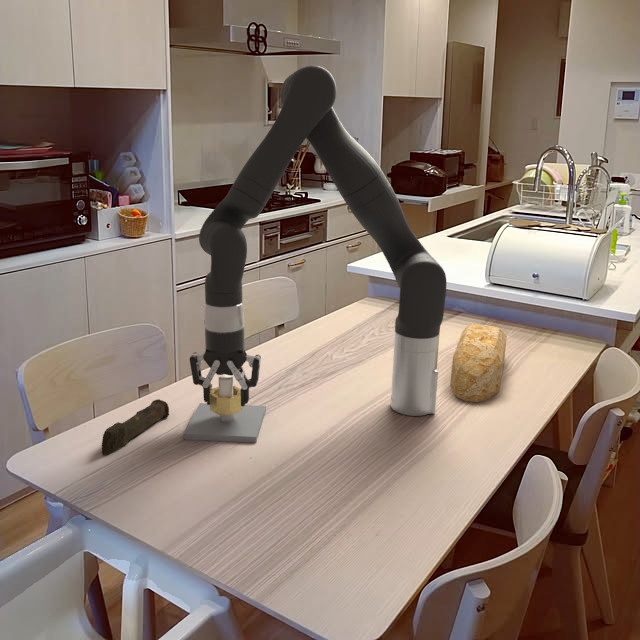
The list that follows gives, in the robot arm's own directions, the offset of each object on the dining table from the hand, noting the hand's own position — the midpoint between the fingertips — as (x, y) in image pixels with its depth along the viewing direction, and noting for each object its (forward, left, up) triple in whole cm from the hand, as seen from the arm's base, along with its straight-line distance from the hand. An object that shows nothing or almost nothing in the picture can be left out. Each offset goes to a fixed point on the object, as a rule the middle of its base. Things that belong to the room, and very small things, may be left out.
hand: (226, 403), depth 141 cm
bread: (-55, -34, -5) cm, 65 cm away
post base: (0, 0, -5) cm, 5 cm away
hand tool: (+17, +6, -5) cm, 18 cm away
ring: (0, 0, -1) cm, 1 cm away
